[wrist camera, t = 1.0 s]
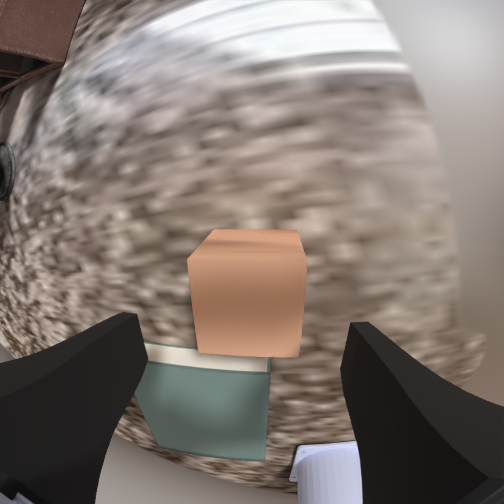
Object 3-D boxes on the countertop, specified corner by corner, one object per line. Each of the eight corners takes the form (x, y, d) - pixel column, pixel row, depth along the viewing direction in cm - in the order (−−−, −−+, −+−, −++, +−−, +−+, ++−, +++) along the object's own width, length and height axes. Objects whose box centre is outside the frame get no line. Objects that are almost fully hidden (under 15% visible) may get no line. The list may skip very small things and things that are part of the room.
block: (293, 303, 16) (298, 357, 11) (218, 301, 16) (198, 352, 12) (296, 229, 15) (307, 261, 10) (214, 229, 15) (187, 259, 10)
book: (266, 441, 21) (265, 461, 19) (166, 429, 22) (159, 447, 19) (270, 350, 17) (269, 375, 15) (135, 338, 18) (120, 358, 16)
